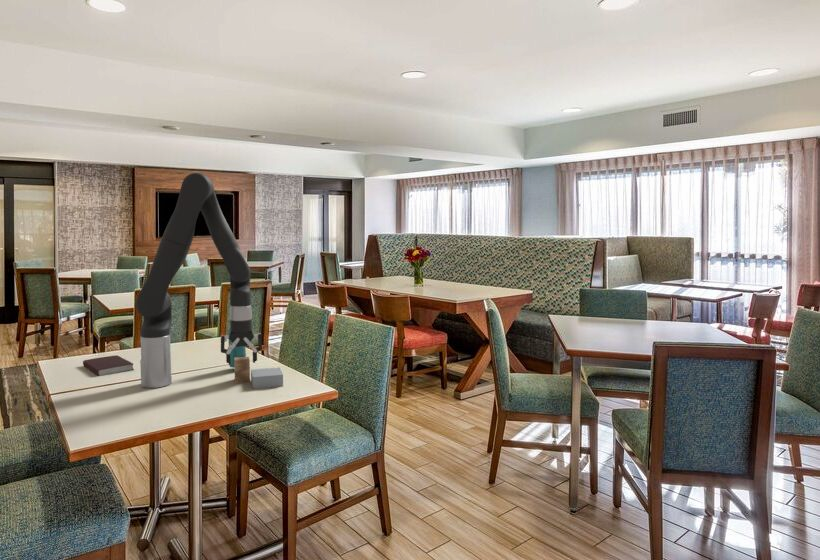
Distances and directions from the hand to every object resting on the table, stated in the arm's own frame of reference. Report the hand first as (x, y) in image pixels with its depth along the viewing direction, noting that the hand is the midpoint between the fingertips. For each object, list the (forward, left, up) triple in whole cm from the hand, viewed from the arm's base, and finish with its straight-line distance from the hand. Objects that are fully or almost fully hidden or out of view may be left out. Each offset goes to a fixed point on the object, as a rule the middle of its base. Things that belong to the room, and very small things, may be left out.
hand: (241, 363), depth 192 cm
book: (-48, +33, -7) cm, 58 cm away
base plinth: (+8, -6, -6) cm, 12 cm away
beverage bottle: (-1, +16, -7) cm, 17 cm away
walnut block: (0, 0, -6) cm, 6 cm away
